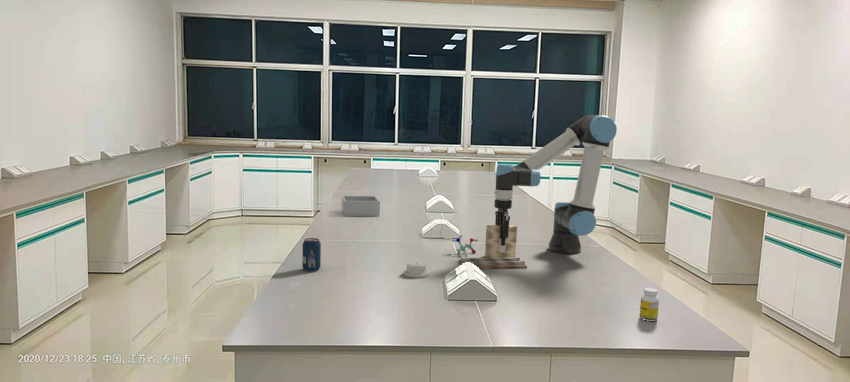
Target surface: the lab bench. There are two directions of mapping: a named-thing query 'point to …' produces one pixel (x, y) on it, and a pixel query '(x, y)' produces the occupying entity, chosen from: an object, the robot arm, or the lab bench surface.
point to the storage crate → (360, 206)
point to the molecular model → (465, 245)
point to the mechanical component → (416, 270)
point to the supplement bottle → (649, 305)
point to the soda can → (311, 254)
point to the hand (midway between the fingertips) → (500, 251)
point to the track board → (495, 263)
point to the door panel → (493, 242)
